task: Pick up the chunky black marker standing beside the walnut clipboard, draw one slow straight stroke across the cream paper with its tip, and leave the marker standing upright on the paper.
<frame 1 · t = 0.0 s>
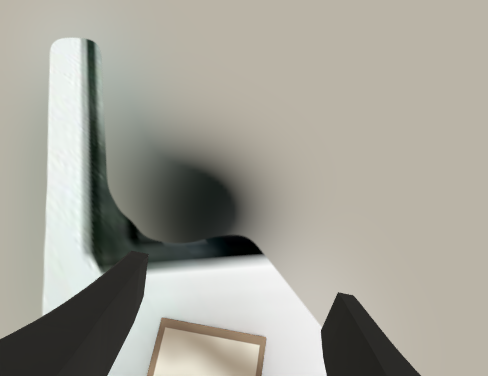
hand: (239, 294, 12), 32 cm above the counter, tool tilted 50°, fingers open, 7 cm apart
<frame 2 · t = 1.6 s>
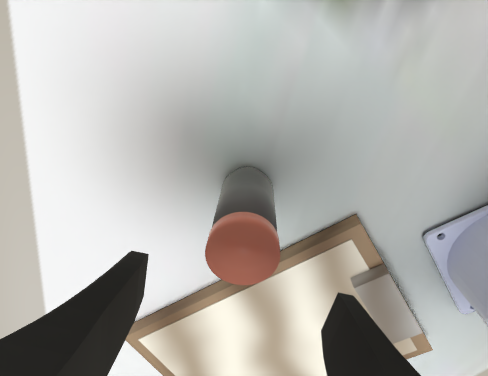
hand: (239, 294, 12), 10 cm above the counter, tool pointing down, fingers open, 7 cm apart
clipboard: (274, 331, 27), on the counter
marker: (247, 185, 21), on the counter
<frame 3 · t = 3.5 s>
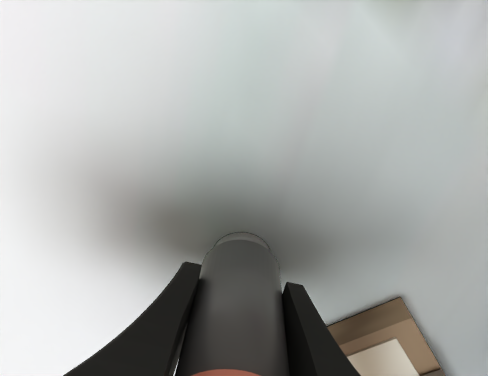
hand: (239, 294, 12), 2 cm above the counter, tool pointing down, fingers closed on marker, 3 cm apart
marker: (241, 257, 14), on the counter, touching gripper
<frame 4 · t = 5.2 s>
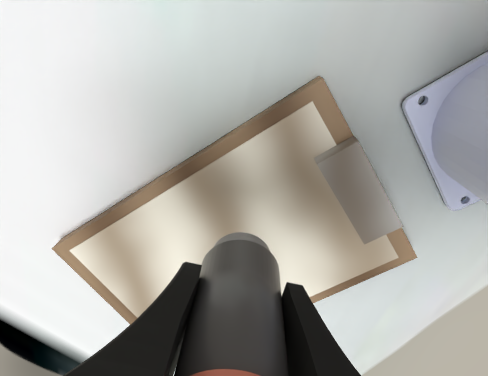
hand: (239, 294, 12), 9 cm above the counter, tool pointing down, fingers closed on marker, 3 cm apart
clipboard: (232, 242, 23), on the counter
marker: (241, 257, 14), point 7 cm above the counter, touching gripper
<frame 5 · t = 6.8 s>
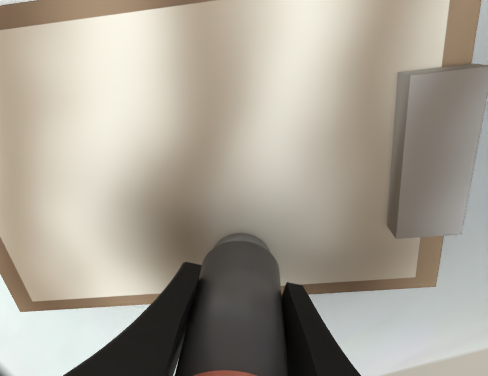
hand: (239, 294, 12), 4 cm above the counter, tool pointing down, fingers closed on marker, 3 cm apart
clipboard: (197, 163, 14), on the counter
marker: (241, 258, 14), point 1 cm above the counter, touching gripper
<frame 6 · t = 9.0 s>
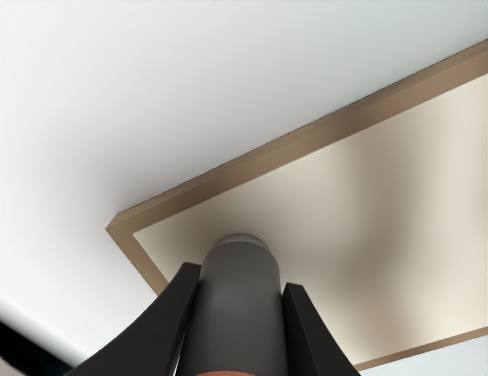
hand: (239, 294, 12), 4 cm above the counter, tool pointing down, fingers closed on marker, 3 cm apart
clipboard: (370, 243, 15), on the counter
marker: (241, 258, 14), point 1 cm above the counter, touching gripper
when the fingers open (4 cm above the counter, at t = 10.5 s): marker stays where it is, resting on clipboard.
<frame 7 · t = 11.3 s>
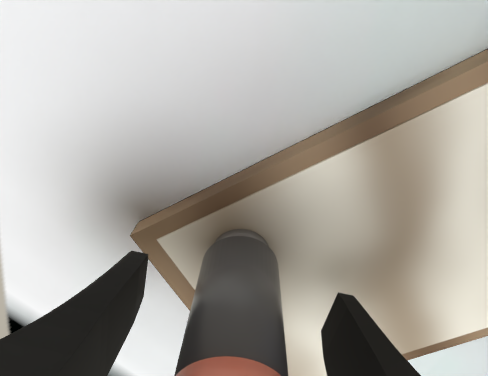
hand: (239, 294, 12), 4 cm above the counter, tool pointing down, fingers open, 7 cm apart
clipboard: (388, 243, 16), on the counter
marker: (241, 253, 15), point 1 cm above the counter, touching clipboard
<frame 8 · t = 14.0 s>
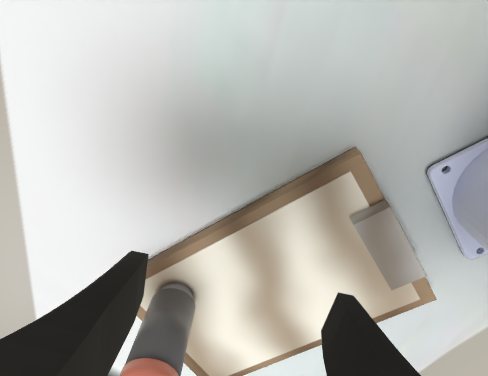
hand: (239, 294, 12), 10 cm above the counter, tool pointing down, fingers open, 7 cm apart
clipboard: (270, 282, 25), on the counter
marker: (176, 295, 24), point 1 cm above the counter, touching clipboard
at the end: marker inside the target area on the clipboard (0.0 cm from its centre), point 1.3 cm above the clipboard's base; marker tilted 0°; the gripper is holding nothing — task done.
